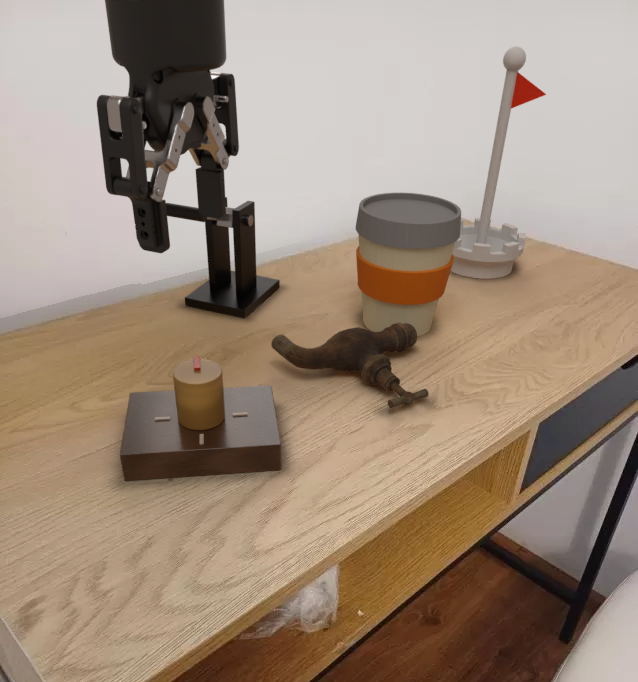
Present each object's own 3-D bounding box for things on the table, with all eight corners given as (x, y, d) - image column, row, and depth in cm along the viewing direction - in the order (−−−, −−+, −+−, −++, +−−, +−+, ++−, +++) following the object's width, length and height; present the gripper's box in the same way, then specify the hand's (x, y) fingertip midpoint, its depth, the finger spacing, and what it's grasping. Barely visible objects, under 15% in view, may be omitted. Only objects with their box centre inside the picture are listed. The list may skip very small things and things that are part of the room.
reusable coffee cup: (411, 296, 91) (425, 188, 83) (464, 334, 82) (485, 217, 74) (333, 310, 87) (338, 197, 78) (379, 352, 78) (391, 230, 69)
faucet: (383, 332, 82) (463, 399, 73) (269, 361, 73) (344, 441, 64) (391, 299, 79) (476, 365, 70) (273, 325, 70) (352, 404, 61)
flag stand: (420, 267, 100) (450, 45, 83) (456, 244, 109) (489, 39, 92) (499, 288, 95) (549, 54, 77) (530, 262, 103) (580, 47, 86)
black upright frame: (245, 318, 84) (241, 221, 77) (185, 305, 87) (175, 210, 79) (279, 287, 92) (279, 196, 85) (224, 276, 95) (219, 187, 88)
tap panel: (124, 481, 57) (119, 453, 55) (134, 417, 65) (129, 390, 63) (281, 470, 59) (281, 443, 57) (271, 409, 67) (271, 383, 65)
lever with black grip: (200, 226, 72) (202, 204, 71) (162, 219, 74) (163, 197, 73) (251, 230, 84) (253, 211, 83) (217, 224, 85) (219, 205, 85)
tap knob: (226, 428, 59) (223, 379, 56) (177, 432, 58) (171, 382, 55) (223, 402, 63) (220, 354, 59) (177, 405, 62) (172, 357, 59)
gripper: (172, -23, 47) (190, 201, 57) (37, -22, 36) (87, 254, 46) (265, -18, 45) (268, 213, 55) (150, -15, 34) (178, 273, 44)
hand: (185, 232), depth 50 cm, fingers open, 8 cm apart
